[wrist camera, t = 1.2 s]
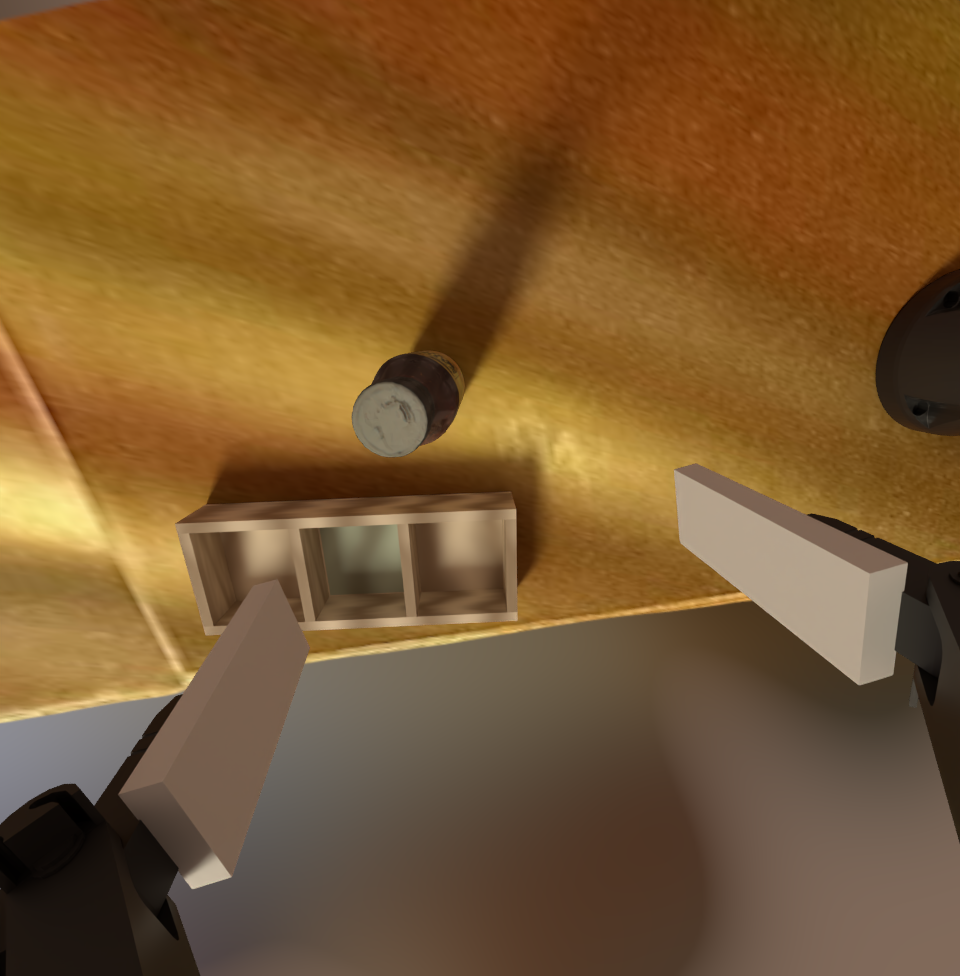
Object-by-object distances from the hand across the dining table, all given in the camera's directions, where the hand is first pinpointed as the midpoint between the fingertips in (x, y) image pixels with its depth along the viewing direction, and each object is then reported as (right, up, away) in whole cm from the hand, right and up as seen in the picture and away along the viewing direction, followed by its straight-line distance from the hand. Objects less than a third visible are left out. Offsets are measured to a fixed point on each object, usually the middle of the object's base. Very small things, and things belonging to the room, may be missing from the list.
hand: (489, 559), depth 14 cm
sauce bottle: (-5, +12, +27) cm, 30 cm away
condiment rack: (-12, -4, +33) cm, 35 cm away
